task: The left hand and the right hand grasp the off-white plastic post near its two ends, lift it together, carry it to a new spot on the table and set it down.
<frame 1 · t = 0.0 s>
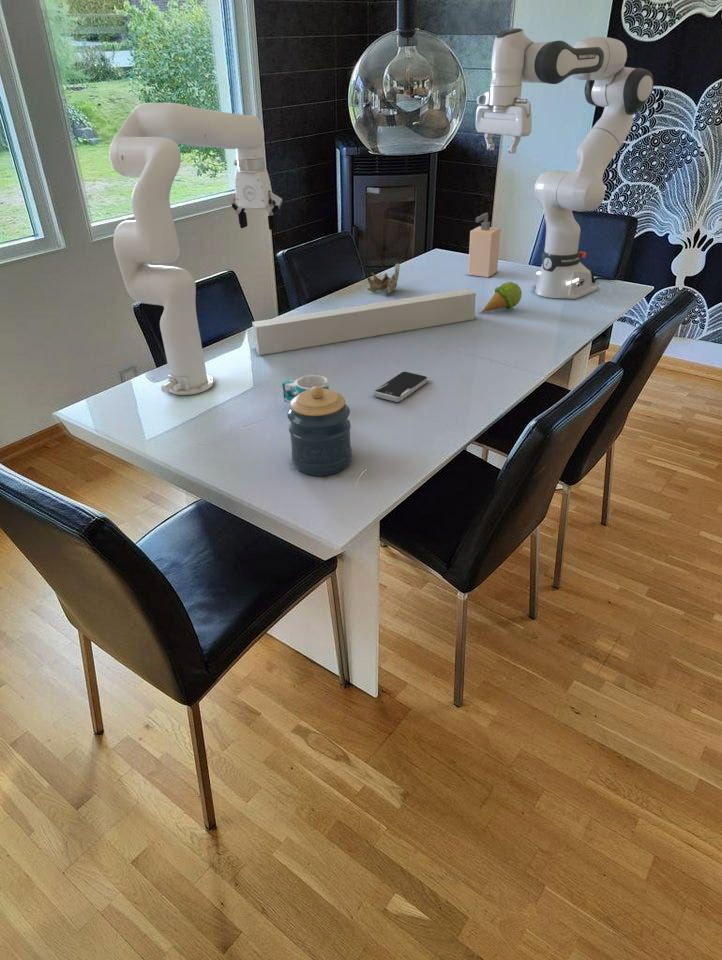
left hand: (258, 228, 199), 31 cm above the table, tool pointing down, fingers open, 9 cm apart
right hand: (501, 151, 198), 48 cm above the table, tool pointing down, fingers open, 8 cm apart
soap dispenser: (480, 275, 258), on the table
post: (368, 333, 209), on the table
smartphone: (401, 389, 175), on the table
gold crown: (387, 290, 246), on the table
mug: (307, 411, 166), on the table
canister: (322, 461, 146), on the table
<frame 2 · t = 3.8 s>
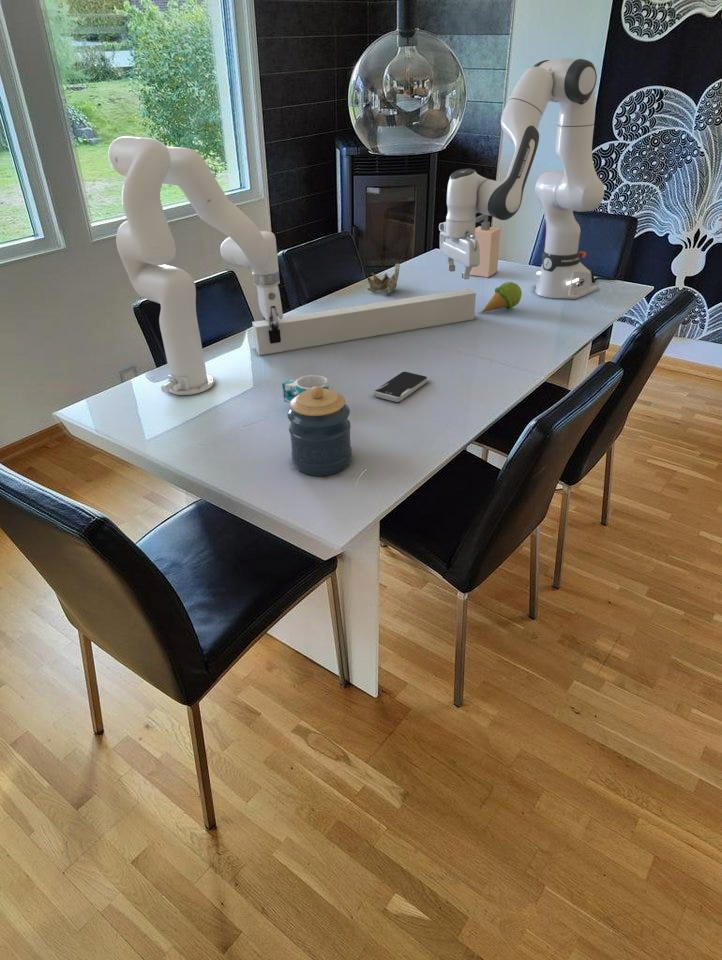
left hand: (273, 338, 199), 3 cm above the table, tool pointing down, fingers closed on post, 5 cm apart
right hand: (458, 274, 210), 14 cm above the table, tool pointing down, fingers open, 8 cm apart
post: (368, 333, 209), on the table, touching left hand
everything else where it was.
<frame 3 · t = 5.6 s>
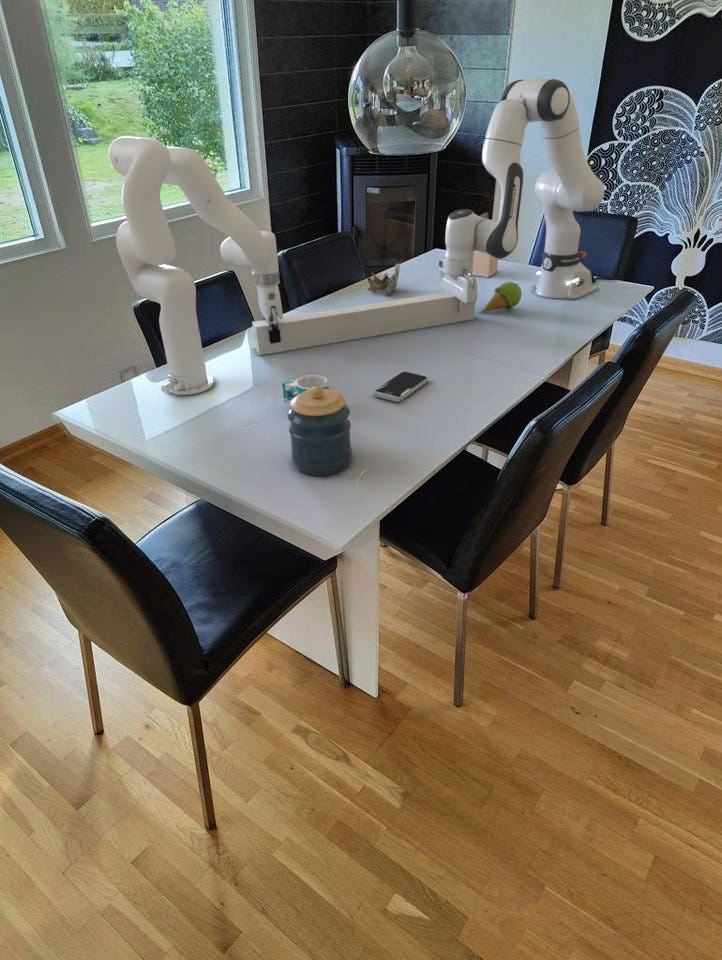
left hand: (273, 338, 199), 3 cm above the table, tool pointing down, fingers closed on post, 5 cm apart
right hand: (456, 309, 216), 3 cm above the table, tool pointing down, fingers closed on post, 5 cm apart
post: (368, 333, 209), on the table, touching left hand, right hand
everything else where it was.
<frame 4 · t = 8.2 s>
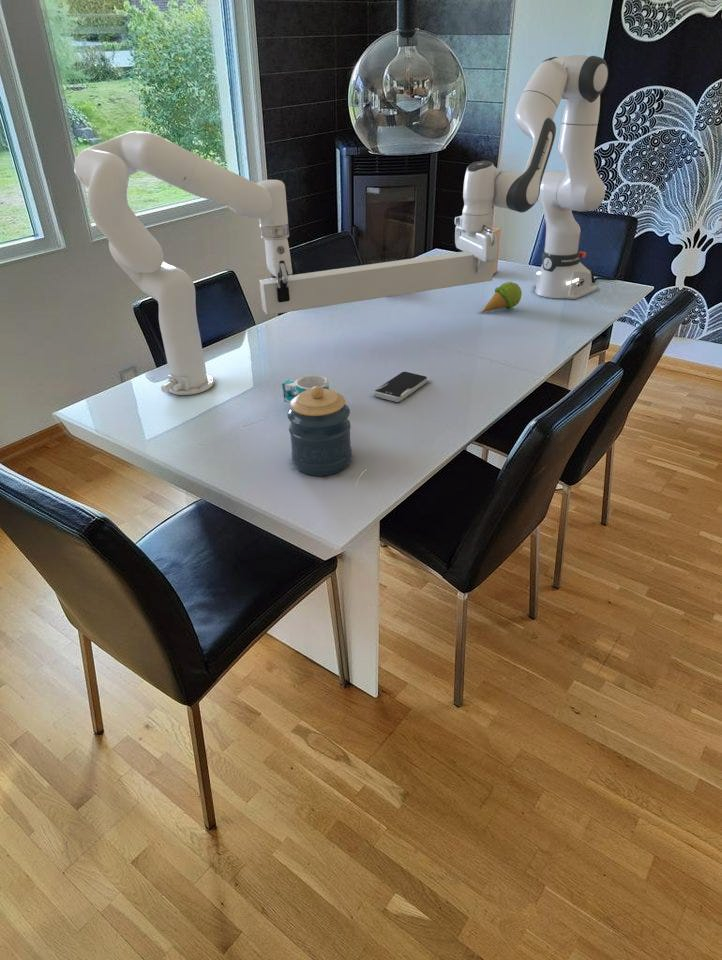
left hand: (281, 297, 188), 17 cm above the table, tool pointing down, fingers closed on post, 5 cm apart
right hand: (474, 269, 205), 17 cm above the table, tool pointing down, fingers closed on post, 5 cm apart
post: (382, 294, 198), point 14 cm above the table, touching left hand, right hand
everything else where it was.
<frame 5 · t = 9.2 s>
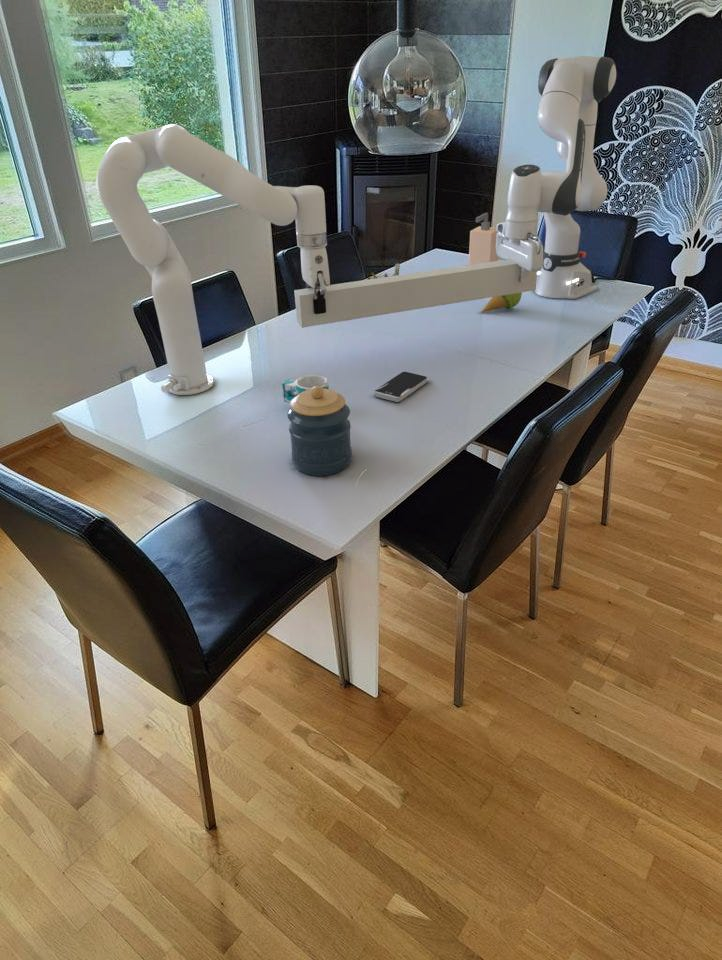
left hand: (316, 309, 178), 17 cm above the table, tool pointing down, fingers closed on post, 5 cm apart
right hand: (516, 279, 195), 17 cm above the table, tool pointing down, fingers closed on post, 5 cm apart
post: (421, 305, 189), point 14 cm above the table, touching left hand, right hand
everything else where it was.
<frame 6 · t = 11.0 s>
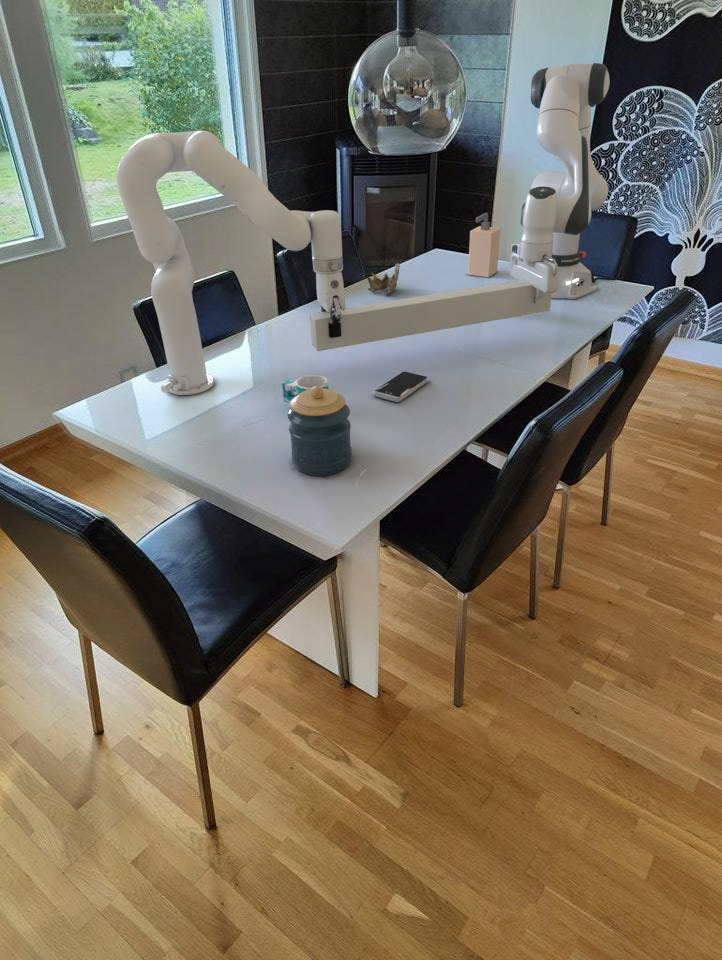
left hand: (331, 332, 178), 12 cm above the table, tool pointing down, fingers closed on post, 5 cm apart
right hand: (531, 299, 194), 12 cm above the table, tool pointing down, fingers closed on post, 5 cm apart
post: (435, 327, 188), point 9 cm above the table, touching left hand, right hand
everything else where it was.
when the left hand's fingers open (4 cm above the table, at t = 12.7 s): post stays where it is, on the table.
when the right hand's fingers open (5 cm above the table, at t = 12.7 s): post stays where it is, on the table.
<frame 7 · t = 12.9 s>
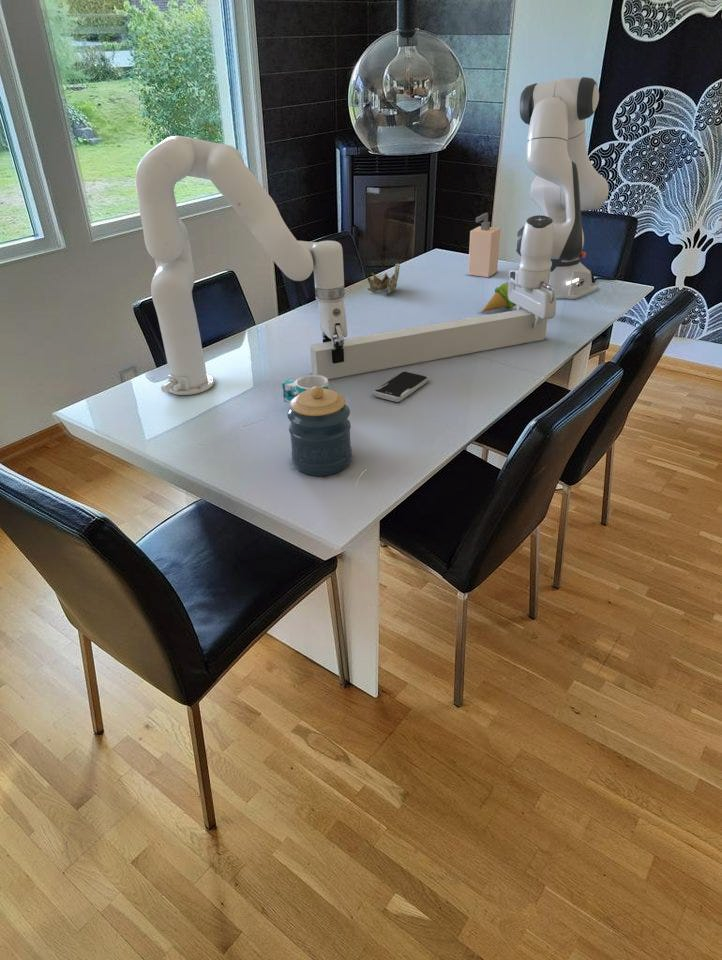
left hand: (333, 356, 181), 5 cm above the table, tool pointing down, fingers open, 7 cm apart
right hand: (528, 324, 198), 5 cm above the table, tool pointing down, fingers open, 6 cm apart
post: (433, 356, 192), on the table
everything else where it was.
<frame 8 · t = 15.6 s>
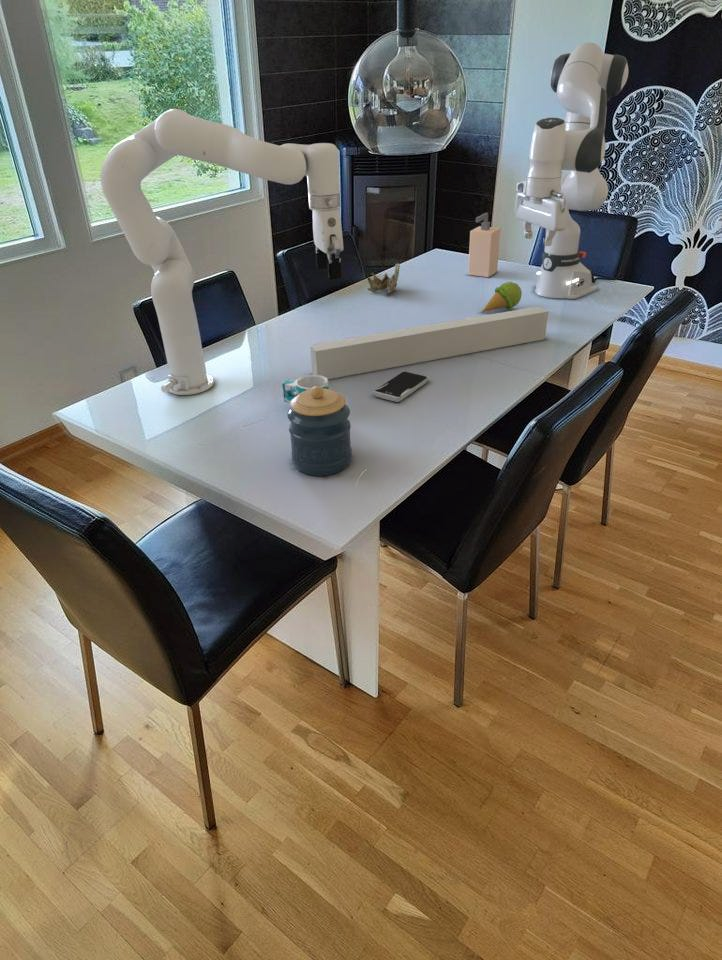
left hand: (328, 273, 169), 28 cm above the table, tool pointing down, fingers open, 9 cm apart
right hand: (537, 241, 185), 28 cm above the table, tool pointing down, fingers open, 8 cm apart
nothing on the table moved.
at the end: post inside the target area (0.5 cm from its centre), on the table; post tilted 0°; post never tilted more than 1° during the clip; both hands held the post at the same time; the left hand is holding nothing; the right hand is holding nothing; post at rest at the end (0.0 cm/s) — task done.
